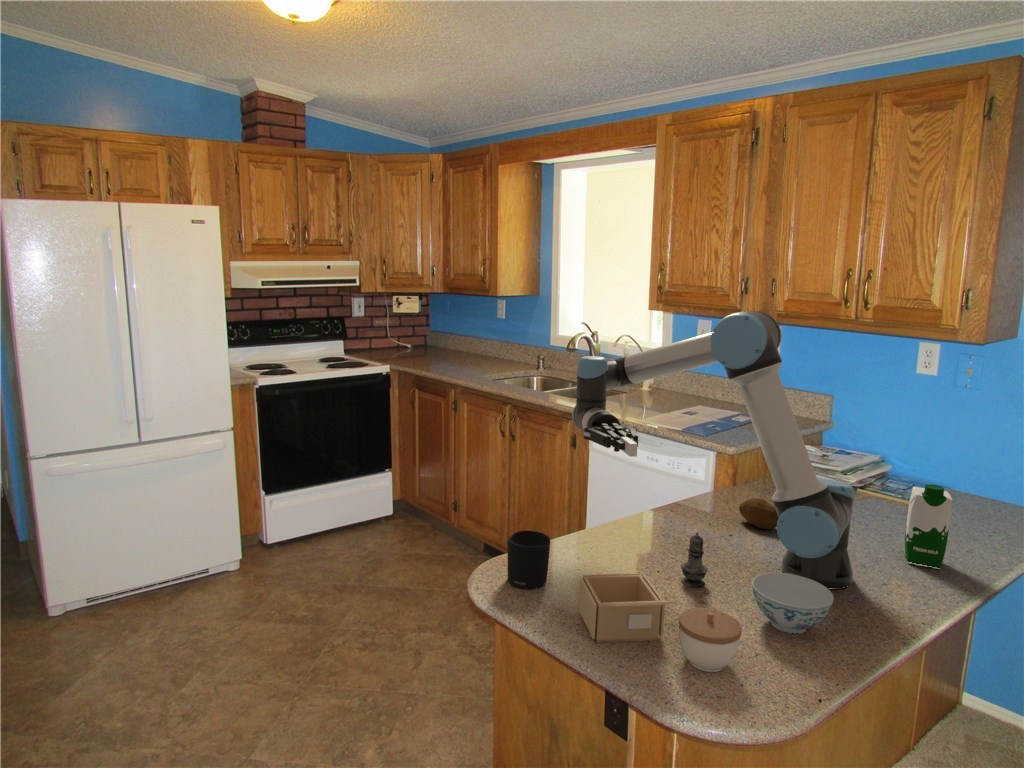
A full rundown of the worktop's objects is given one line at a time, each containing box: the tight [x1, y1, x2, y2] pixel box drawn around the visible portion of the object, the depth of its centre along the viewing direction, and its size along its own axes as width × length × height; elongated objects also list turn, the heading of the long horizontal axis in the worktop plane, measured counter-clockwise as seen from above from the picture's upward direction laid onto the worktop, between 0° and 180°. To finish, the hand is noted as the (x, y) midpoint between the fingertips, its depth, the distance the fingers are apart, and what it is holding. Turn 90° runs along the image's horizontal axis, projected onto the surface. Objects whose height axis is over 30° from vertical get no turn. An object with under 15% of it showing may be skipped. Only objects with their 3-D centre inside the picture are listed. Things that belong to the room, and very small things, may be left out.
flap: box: [602, 600, 677, 606], centre depth 122 cm, size 11×1×8 cm
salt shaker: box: [680, 531, 709, 589], centre depth 152 cm, size 6×6×12 cm
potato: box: [738, 498, 779, 530], centre depth 190 cm, size 8×12×8 cm, turn 45°
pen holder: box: [507, 530, 551, 590], centre depth 150 cm, size 9×9×10 cm
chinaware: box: [751, 572, 835, 635], centre depth 135 cm, size 15×15×8 cm
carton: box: [577, 572, 666, 644], centre depth 133 cm, size 14×13×8 cm
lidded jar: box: [678, 607, 742, 673], centre depth 121 cm, size 11×11×9 cm
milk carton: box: [904, 484, 954, 569], centre depth 168 cm, size 9×9×20 cm
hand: (633, 450), depth 141 cm, fingers closed
